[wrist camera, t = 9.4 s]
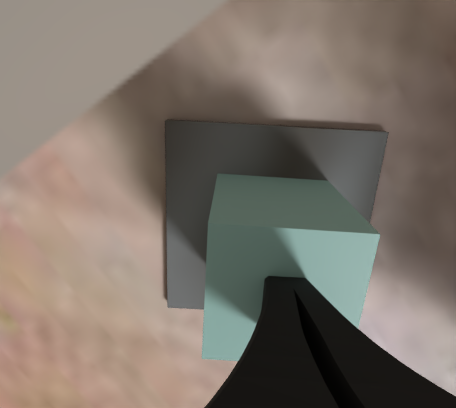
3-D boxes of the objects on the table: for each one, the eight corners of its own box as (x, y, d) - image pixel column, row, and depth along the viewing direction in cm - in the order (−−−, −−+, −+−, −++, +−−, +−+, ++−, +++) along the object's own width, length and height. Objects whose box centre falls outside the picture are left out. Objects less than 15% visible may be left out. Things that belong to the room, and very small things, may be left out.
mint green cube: (327, 180, 16) (380, 234, 10) (311, 276, 17) (348, 368, 12) (217, 173, 16) (208, 222, 10) (212, 270, 17) (201, 358, 12)
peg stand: (384, 131, 15) (459, 153, 10) (347, 312, 19) (389, 397, 14) (166, 119, 15) (133, 136, 10) (168, 303, 19) (144, 384, 14)
